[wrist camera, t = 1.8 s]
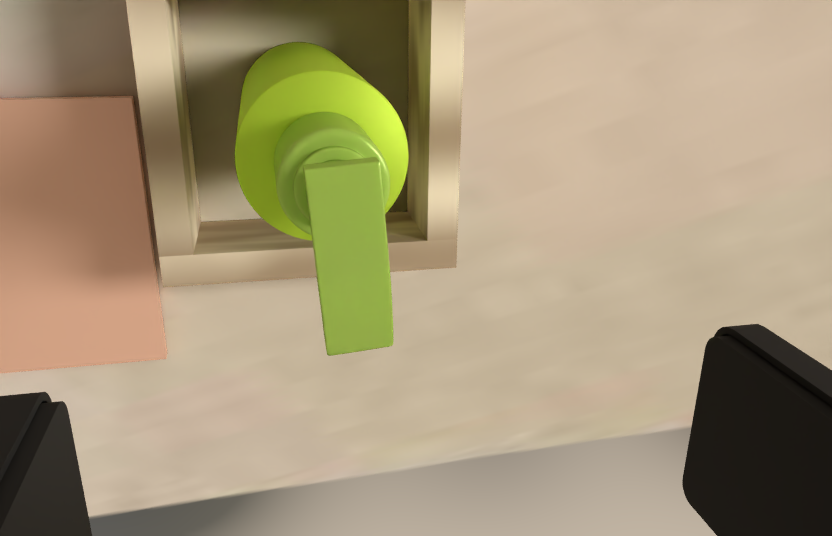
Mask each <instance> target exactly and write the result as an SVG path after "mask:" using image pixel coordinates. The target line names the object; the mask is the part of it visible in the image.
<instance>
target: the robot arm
mask: <svg viewBox="0 0 832 536" xmlns="http://www.w3.org/2000/svg"><path fill="white" fill-rule="evenodd" d="M683 490H684V493H685V496H686V498H687V500H688V502H689V503H690V505H691V506H692V507H693V508H694V509H695V510H696V511H697V513H698V514H699V515H700V516H701V517H702V519H704V521H705V522H706V523H707V524H708V526H709V527H710V528H711V529H712V530H713V531H714V533H715V534H716V535H717V536H832V370H830V369H828V368H827V367H825V366H824V365H822V364H821V363H819V362H818V361H816V360H815V359H813V358H811V357H810V356H808V355H807V354H805V353H804V352H802V351H801V350H799V349H798V348H796V347H794V346H793V345H791V344H790V343H788V342H787V341H785V340H784V339H782V338H781V337H779V336H777V335H776V334H774V333H773V332H771V331H770V330H768V329H767V328H765V327H764V326H761V325H759V324H751V325H741V326H730V327H722V328H721V329H719V330H718V331H717V332H716V334H715V336H714V337H713V338H711V339H709V341H708V342H707V344H706V348H705V353H704V359H703V365H702V370H701V376H700V382H699V388H698V393H697V399H696V405H695V411H694V416H693V422H692V428H691V434H690V440H689V445H688V451H687V457H686V462H685V468H684V474H683ZM0 536H92V533H91V528H90V523H89V517H88V512H87V507H86V502H85V497H84V491H83V486H82V481H81V476H80V471H79V465H78V460H77V455H76V450H75V445H74V440H73V434H72V429H71V424H70V419H69V414H68V410H67V406H66V404H65V403H64V402H63V401H61V402H52V401H51V399H50V397H49V395H48V394H47V393H46V392H39V393H29V394H18V395H8V396H0Z"/></svg>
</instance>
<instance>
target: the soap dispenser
mask: <svg viewBox="0 0 832 536" xmlns="http://www.w3.org/2000/svg"><path fill="white" fill-rule="evenodd" d="M408 158H409V154H408V143H407V138H406V134H405V130H404V127H403V125H402V122H401V120H400V118H399V116H398V114H397V112H396V111H395V109H394V108H393V106H392V105H391V104H390V102H389V101H388V100H387V99H386V98H385V97H384V96H383V95H382V94H381V93H380V92H379V91H378V90H377V89H375V88H374V87H373V86H372V85H371V84H369V83H368V82H367V81H366V80H365V79H363V78H362V77H361V76H360V75H359V74H357V73H356V72H355V71H354V70H353V69H351V68H350V67H349V66H348V65H347V64H345V63H344V62H343V61H342V60H341V59H339V58H338V57H337V56H336V55H335V54H333V53H332V52H330V51H329V50H327V49H325V48H323V47H320V46H318V45H315V44H311V43H304V42H292V43H286V44H282V45H279V46H276V47H274V48H272V49H270V50H268V51H267V52H265V53H264V54H263V55H261V56H260V57H259V58H258V59H257V60H256V61H255V62H254V64H253V65H252V66H251V68H250V69H249V71H248V73H247V75H246V77H245V80H244V83H243V87H242V93H241V101H240V110H239V118H238V127H237V135H236V144H235V167H236V173H237V177H238V180H239V183H240V186H241V189H242V191H243V193H244V195H245V197H246V199H247V200H248V202H249V203H250V205H251V206H252V207H253V209H254V210H255V211H256V212H257V213H258V214H259V215H260V216H261V217H262V218H263V219H264V220H265V221H266V222H267V223H269V224H270V225H272V226H273V227H275V228H276V229H278V230H280V231H282V232H284V233H286V234H288V235H291V236H293V237H296V238H300V239H304V240H311V241H312V242H313V250H314V258H315V266H316V274H317V282H318V290H319V297H320V305H321V313H322V321H323V330H324V337H325V344H326V350H327V355H329V356H331V355H338V354H345V353H352V352H358V351H364V350H371V349H377V348H383V347H389V346H392V345H393V315H392V294H391V279H390V266H389V253H388V242H387V231H386V220H385V214H386V213H387V212H388V210H389V209H390V208H391V207H392V205H393V204H394V202H395V201H396V199H397V198H398V196H399V194H400V192H401V190H402V187H403V184H404V182H405V178H406V174H407V169H408Z"/></svg>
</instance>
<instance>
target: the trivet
mask: <svg viewBox="0 0 832 536" xmlns="http://www.w3.org/2000/svg"><path fill="white" fill-rule="evenodd" d="M166 357H167V347H166V339H165V332H164V324H163V317H162V309H161V301H160V294H159V286H158V279H157V271H156V263H155V256H154V248H153V241H152V233H151V225H150V218H149V210H148V203H147V195H146V188H145V180H144V172H143V165H142V157H141V150H140V142H139V134H138V127H137V119H136V112H135V104H134V97H133V96H99V97H41V98H0V373H9V372H20V371H32V370H43V369H55V368H66V367H78V366H89V365H101V364H112V363H124V362H135V361H147V360H158V359H166Z"/></svg>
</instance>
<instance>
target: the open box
mask: <svg viewBox="0 0 832 536" xmlns="http://www.w3.org/2000/svg"><path fill="white" fill-rule="evenodd" d="M126 6H127V14H128V22H129V30H130V37H131V45H132V53H133V60H134V68H135V76H136V84H137V91H138V99H139V107H140V114H141V122H142V130H143V138H144V145H145V153H146V161H147V169H148V176H149V184H150V192H151V199H152V207H153V215H154V223H155V230H156V238H157V246H158V253H159V261H160V269H161V277H162V284H163V287H175V286H190V285H204V284H219V283H234V282H248V281H263V280H278V279H293V278H307V277H317V274H316V266H315V258H314V250H313V242H312V241H311V240H304V239H300V238H296V237H293V236H291V235H288V234H286V233H284V232H282V231H280V230H278V229H276V228H275V227H273V226H272V225H270V224H269V223H267V222H266V221H265V220H264V219H249V220H230V221H210V222H201V220H200V210H199V200H198V191H197V181H196V172H195V162H194V153H193V143H192V133H191V124H190V114H189V105H188V95H187V86H186V76H185V66H184V57H183V47H182V38H181V28H180V19H179V9H178V0H126ZM464 25H465V0H409V49H408V154H409V158H408V193H407V211H406V212H387V213H386V214H385V220H386V231H387V242H388V253H389V266H390V272H396V271H411V270H425V269H440V268H455V267H456V259H457V230H458V200H459V171H460V142H461V112H462V83H463V54H464Z"/></svg>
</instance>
